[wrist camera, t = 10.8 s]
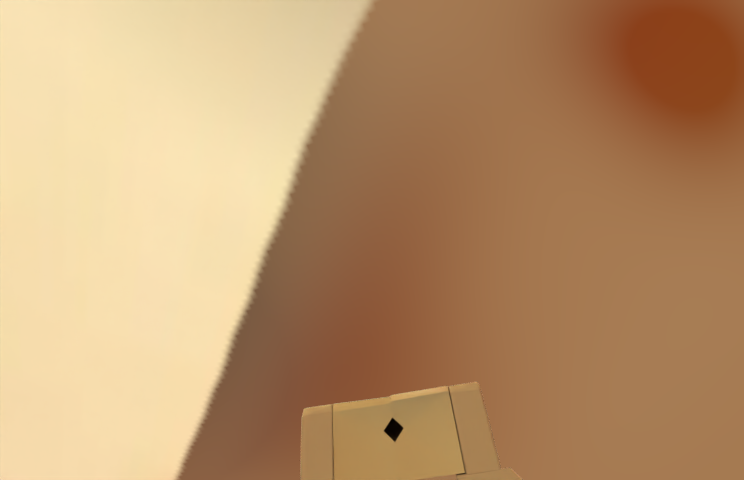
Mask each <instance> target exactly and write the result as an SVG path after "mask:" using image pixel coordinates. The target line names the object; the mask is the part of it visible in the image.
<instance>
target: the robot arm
mask: <svg viewBox="0 0 744 480" xmlns="http://www.w3.org/2000/svg"><path fill="white" fill-rule="evenodd" d="M300 464H301V465H300V480H523V479H522V478H521V477H520V476H518V475H517V474H516V473H515V472H514V471H513V470H512V469H511V468H502V469H501V466H500V462H499V458H498V454H497V450H496V446H495V442H494V438H493V434H492V430H491V426H490V422H489V418H488V414H487V410H486V406H485V403H484V399H483V395H482V391H481V387H480V385H479V384H478V382H471V383H465V384H459V385H453V386H449V387H447V386H442V387H437V388H431V389H425V390H419V391H413V392H407V393H401V394H395V395H391V397H383V398H375V399H369V400H361V401H353V402H345V403H337V404H330V405H324V406H317V407H310V408H304V411H303V415H302V423H301V463H300Z"/></svg>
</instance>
